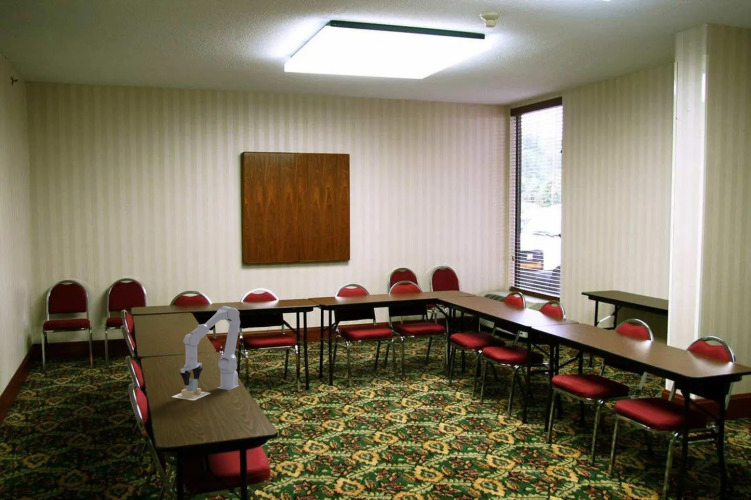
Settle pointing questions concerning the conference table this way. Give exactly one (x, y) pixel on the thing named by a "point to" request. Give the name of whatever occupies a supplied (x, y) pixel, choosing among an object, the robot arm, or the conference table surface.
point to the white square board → (191, 397)
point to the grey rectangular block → (192, 384)
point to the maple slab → (190, 392)
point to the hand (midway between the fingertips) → (191, 383)
